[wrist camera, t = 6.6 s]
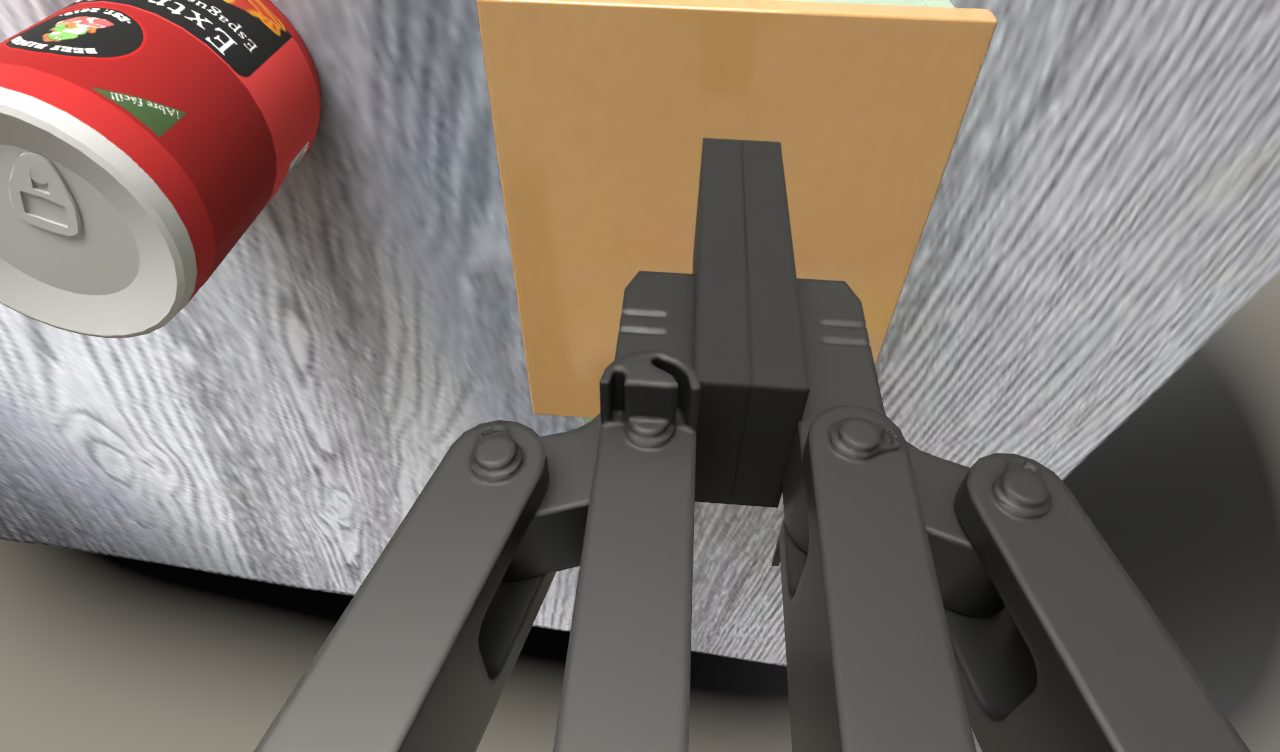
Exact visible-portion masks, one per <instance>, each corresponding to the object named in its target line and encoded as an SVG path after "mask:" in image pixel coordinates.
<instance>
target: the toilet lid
mask: <svg viewBox="0 0 1280 752" xmlns="http://www.w3.org/2000/svg"><path fill="white" fill-rule="evenodd" d="M476 4H477V11H478V19H479V26H480V33H481V40H482V47H483V55H484V62H485V69H486V76H487V84H488V91H489V98H490V105H491V112H492V120H493V127H494V134H495V141H496V149H497V156H498V163H499V170H500V177H501V185H502V192H503V199H504V206H505V214H506V221H507V228H508V235H509V242H510V250H511V257H512V264H513V271H514V279H515V286H516V293H517V300H518V307H519V315H520V322H521V329H522V336H523V344H524V351H525V358H526V365H527V372H528V380H529V387H530V394H531V401H532V408H533V413H534V414H537V415H553V416H569V417H585V418H595V417H596V416H597V415H599V414H600V384H599V382H600V380H601V377H602V375H603V373H604V370H605V368H606V367H608V366H609V365H610V364H611V363H612V362H613V361H614V360H615V353H616V346H617V339H618V332H619V325H620V318H621V313H622V304H623V297H624V290H625V288H626V287H627V285H628V284H629V283H630V282H631V280H632V279H633V278H634V277H635V276H636V274H637V273H638V272H639V271H652V272H669V273H685V274H692V273H693V251H694V239H695V227H696V215H697V203H698V192H699V180H700V168H701V156H702V144H703V138H715V139H734V140H753V141H772V142H781V150H782V158H783V167H784V175H785V183H786V192H787V200H788V209H789V217H790V226H791V234H792V242H793V251H794V259H795V268H796V276H797V278H801V279H817V280H834V281H845V282H846V283H847V284H848V286H849V287H850V288H851V289H852V291H853V292H854V293H855V294H856V296H857V297H858V298H859V299H860V300H861V302H862V307H863V312H864V317H865V321H866V328H867V331H868V336H869V340H870V343H869V346H871V350H872V355H873V359H874V364H876V361H877V359H878V356H879V353H880V350H881V347H882V345H883V342H884V339H885V336H886V333H887V331H888V328H889V325H890V322H891V319H892V317H893V314H894V311H895V308H896V305H897V303H898V300H899V297H900V294H901V291H902V289H903V286H904V283H905V280H906V277H907V275H908V272H909V269H910V266H911V263H912V261H913V258H914V255H915V252H916V249H917V247H918V244H919V241H920V238H921V235H922V233H923V230H924V227H925V224H926V221H927V218H928V216H929V213H930V210H931V207H932V204H933V202H934V199H935V196H936V193H937V190H938V188H939V185H940V182H941V179H942V176H943V174H944V171H945V168H946V165H947V162H948V160H949V157H950V154H951V151H952V148H953V146H954V143H955V140H956V137H957V134H958V132H959V129H960V126H961V123H962V120H963V118H964V115H965V112H966V109H967V106H968V104H969V101H970V98H971V95H972V92H973V90H974V87H975V84H976V81H977V78H978V75H979V73H980V70H981V67H982V64H983V61H984V59H985V56H986V53H987V50H988V47H989V45H990V42H991V39H992V36H993V33H994V31H995V28H996V25H997V19H996V17H995V16H994V15H993V13H992V12H991V10H989V9H971V8H947V7H923V6H899V5H875V4H851V3H827V2H803V1H779V0H476Z"/></svg>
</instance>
